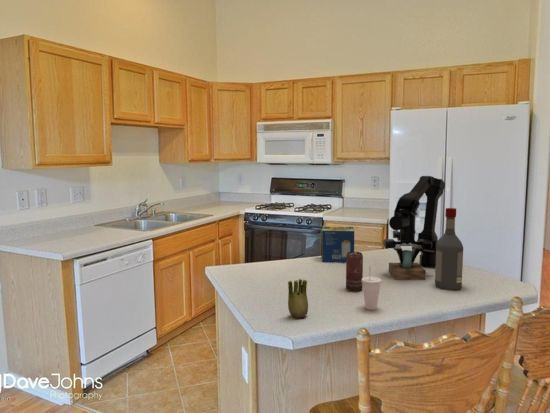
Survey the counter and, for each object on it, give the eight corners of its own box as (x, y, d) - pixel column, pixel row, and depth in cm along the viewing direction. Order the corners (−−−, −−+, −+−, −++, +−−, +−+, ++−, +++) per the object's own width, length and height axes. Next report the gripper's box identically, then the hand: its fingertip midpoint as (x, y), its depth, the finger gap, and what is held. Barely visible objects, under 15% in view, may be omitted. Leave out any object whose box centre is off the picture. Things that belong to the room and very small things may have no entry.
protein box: (322, 257, 205) (322, 226, 203) (353, 257, 202) (353, 226, 200) (321, 262, 194) (321, 230, 192) (354, 263, 192) (354, 230, 190)
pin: (412, 271, 169) (413, 252, 168) (402, 271, 169) (403, 252, 168) (410, 268, 173) (410, 250, 172) (400, 268, 173) (400, 250, 172)
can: (361, 286, 157) (361, 251, 156) (363, 292, 151) (363, 255, 149) (345, 286, 158) (345, 250, 156) (346, 291, 152) (346, 254, 150)
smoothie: (358, 304, 138) (359, 264, 137) (377, 303, 139) (378, 263, 137) (364, 311, 132) (365, 269, 130) (383, 310, 133) (384, 268, 131)
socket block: (416, 271, 177) (417, 262, 176) (425, 280, 165) (425, 270, 164) (388, 271, 177) (388, 262, 177) (395, 279, 165) (395, 270, 165)
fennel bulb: (287, 318, 128) (286, 280, 126) (292, 312, 132) (291, 276, 131) (305, 320, 126) (304, 282, 124) (309, 314, 130) (309, 278, 129)
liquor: (435, 288, 154) (438, 209, 150) (434, 281, 162) (437, 206, 159) (461, 291, 151) (465, 210, 147) (459, 284, 159) (463, 207, 155)
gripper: (424, 223, 176) (423, 259, 178) (380, 223, 177) (380, 259, 179) (433, 228, 165) (431, 266, 167) (386, 228, 166) (385, 265, 168)
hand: (406, 264), depth 170 cm, fingers closed on pin, 4 cm apart
